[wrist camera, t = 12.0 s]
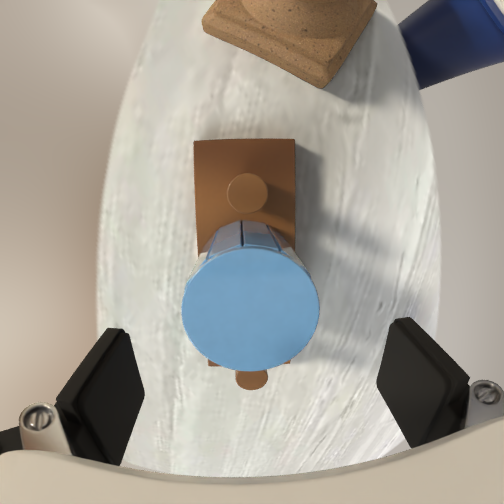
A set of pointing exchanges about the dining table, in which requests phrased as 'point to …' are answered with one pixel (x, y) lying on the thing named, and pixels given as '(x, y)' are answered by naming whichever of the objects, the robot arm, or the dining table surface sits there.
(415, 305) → the dining table surface
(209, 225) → the rack
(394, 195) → the dining table surface
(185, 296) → the cup
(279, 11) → the candle holder
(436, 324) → the dining table surface
